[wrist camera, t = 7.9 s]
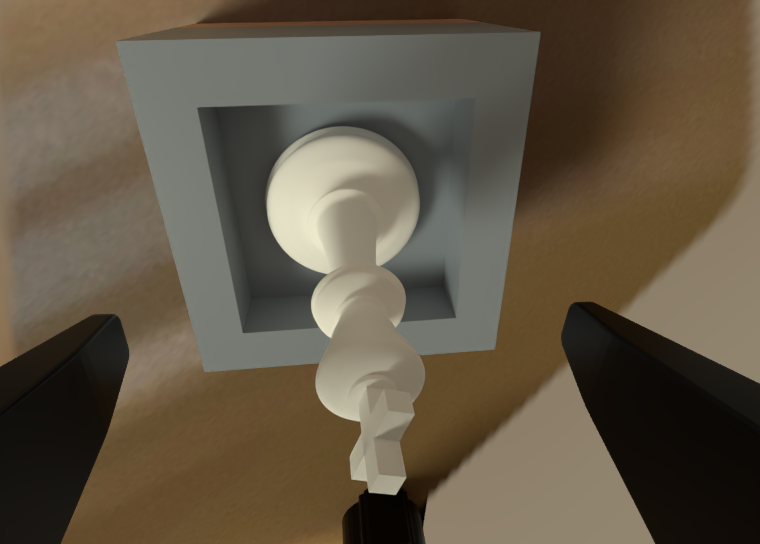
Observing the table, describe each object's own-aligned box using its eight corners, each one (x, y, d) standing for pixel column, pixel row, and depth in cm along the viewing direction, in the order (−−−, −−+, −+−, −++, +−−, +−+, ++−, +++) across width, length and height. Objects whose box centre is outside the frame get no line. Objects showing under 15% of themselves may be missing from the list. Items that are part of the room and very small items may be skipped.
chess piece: (250, 247, 16) (184, 564, 7) (287, 102, 13) (255, 322, 5) (387, 280, 17) (463, 576, 9) (442, 154, 15) (618, 394, 6)
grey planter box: (444, 245, 23) (494, 349, 17) (240, 257, 23) (204, 372, 16) (459, 18, 18) (540, 32, 11) (197, 23, 17) (115, 41, 11)
